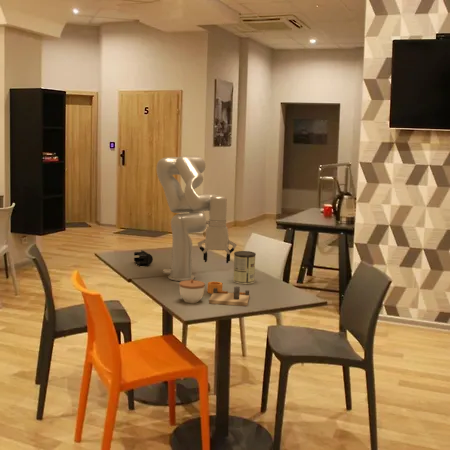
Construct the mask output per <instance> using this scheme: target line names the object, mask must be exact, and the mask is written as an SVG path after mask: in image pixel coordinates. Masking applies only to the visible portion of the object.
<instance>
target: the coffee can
mask: <svg viewBox="0 0 450 450" xmlns="http://www.w3.org/2000/svg"><path fill="white" fill-rule="evenodd" d="M233 252H234V253H233V254H234V255H233V260H234V261H233V283H234V284H235V283H236V284H239V285H251V284H254V283H255V273H256V272H255V271H256V252H253V251H249V250H238V251H237V250H236V251H233Z"/></svg>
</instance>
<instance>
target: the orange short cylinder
mask: <svg viewBox="0 0 450 450" xmlns="http://www.w3.org/2000/svg"><path fill="white" fill-rule="evenodd" d="M223 287H224V285H223V282H220V281H208V282H207V293H208V294H211V295H212V294H213V289H214V288H218V289H217V291H223Z"/></svg>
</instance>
